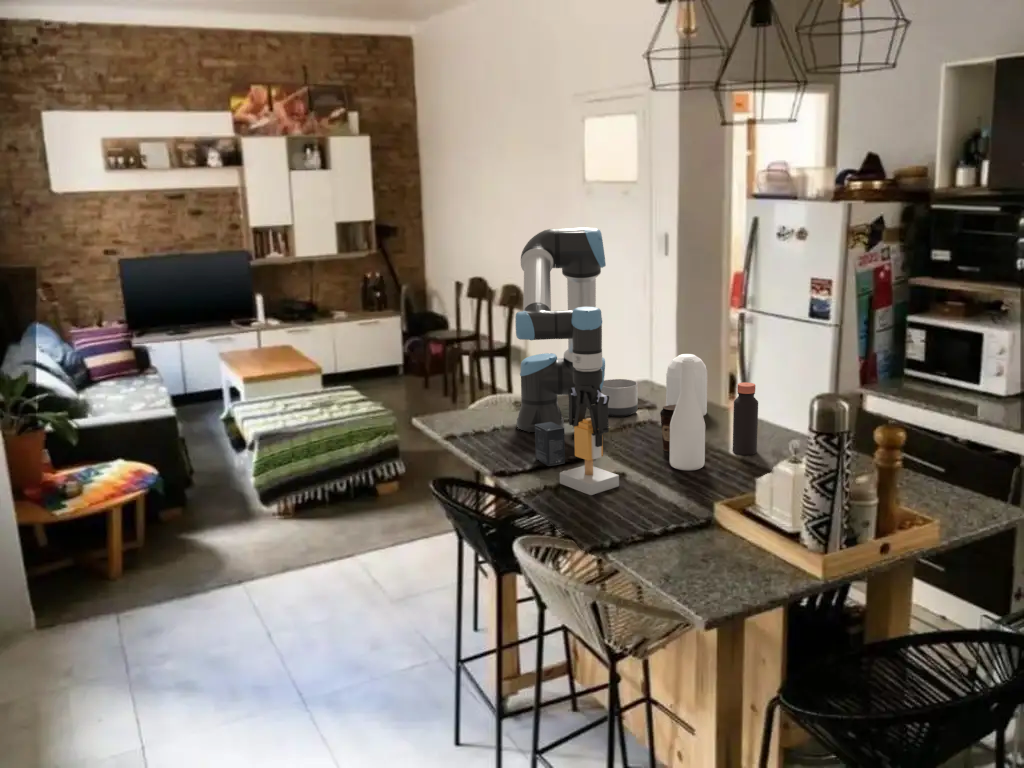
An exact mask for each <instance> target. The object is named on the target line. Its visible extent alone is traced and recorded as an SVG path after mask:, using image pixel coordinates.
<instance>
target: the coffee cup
mask: <svg viewBox="0 0 1024 768" xmlns="http://www.w3.org/2000/svg"><path fill="white" fill-rule="evenodd" d="M675 407H676V405H668V406H666V405H663V406H662V409H661V410H660V413H659V414H660V424H661V425H660V426H661V439H662V447H663V450H664V451H665V452H668V453H670V422H671V419H672V416H673V413H674V410H675Z"/></svg>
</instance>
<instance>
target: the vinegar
mask: <svg viewBox="0 0 1024 768" xmlns="http://www.w3.org/2000/svg"><path fill="white" fill-rule="evenodd" d="M736 389H737V394H738V396H737V397H736V398H735V399H734V400H733V413H732V414H733V417H732V418H733V419H732V420H733V421H732V422H733V423H732V424H733V425H732V428H733V429H732V452H733V453H734V454H736V455H739V456H753V455H755V454H757V452H758V428H759V427H758V425H759V422H758V421H759V401H758V400H757V399H756V397H755V394H756V384H755V383H753V382H745V381H744V382H739V383H737V388H736Z"/></svg>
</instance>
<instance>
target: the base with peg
mask: <svg viewBox="0 0 1024 768" xmlns="http://www.w3.org/2000/svg"><path fill="white" fill-rule="evenodd" d="M559 484H560V485H563V486H566V487H568V488H570V489H574V490H576V491H579V492H581V493H584V494H586V495H588V496H593V495H595V494H599V493H602V492H606V491H608V490H611V489H615V488H618V487H619V486H620V475H619V474H616V473H613V472H611V471H608V470H605V469H602V468H600V467H596V466H594V459H592V460H589V461H588V460H585V459H584V464H583V465H581V466H578V467H574V468H568V469H565V470H563V471H561V472H559Z"/></svg>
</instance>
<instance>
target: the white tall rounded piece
mask: <svg viewBox="0 0 1024 768" xmlns="http://www.w3.org/2000/svg"><path fill="white" fill-rule="evenodd" d="M681 367H682V388H681V393H680V396H679V399H678V402H677V405H676V407H675V410H674V413H673V416H672V419H671V422H670V452H669V465H670V466H671V467H672V468H674V469H676V470H680V471H697V470H700V469H701V468H703V467H704V466H705V462H706V461H705V460H706V458H705V457H706V423H705V418H704V416H703V415H702V412H701V409H700V406H699V403H698V400H697V397H696V394H695V388H694V368H695V361H694V359H683V360H682V362H681Z"/></svg>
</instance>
